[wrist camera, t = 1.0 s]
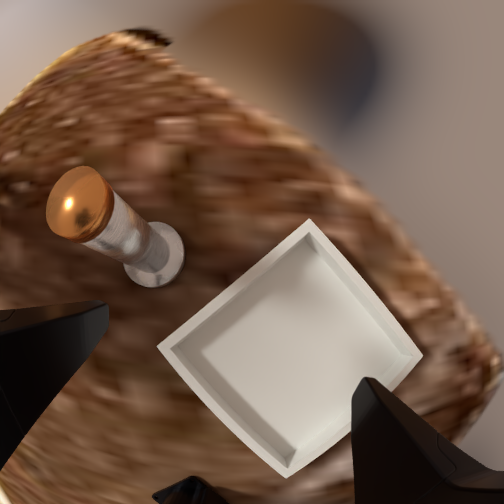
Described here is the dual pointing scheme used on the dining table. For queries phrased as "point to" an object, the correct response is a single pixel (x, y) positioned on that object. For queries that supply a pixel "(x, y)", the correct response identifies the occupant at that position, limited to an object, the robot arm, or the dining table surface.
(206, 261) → the dining table surface
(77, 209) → the pin
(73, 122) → the dining table surface
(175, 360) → the pin tray
